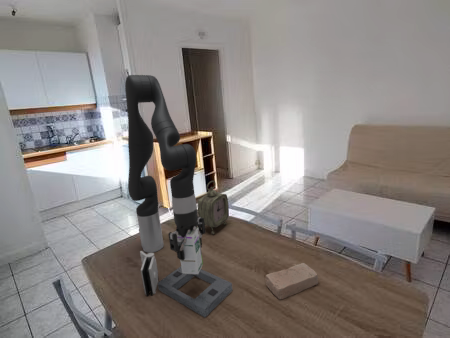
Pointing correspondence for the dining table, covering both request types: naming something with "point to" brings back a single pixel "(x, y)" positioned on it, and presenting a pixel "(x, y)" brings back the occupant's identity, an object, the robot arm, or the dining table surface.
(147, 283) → the hinge
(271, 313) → the dining table surface
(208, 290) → the rail plate
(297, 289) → the brick
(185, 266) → the syrup box
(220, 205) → the tabletop clock
